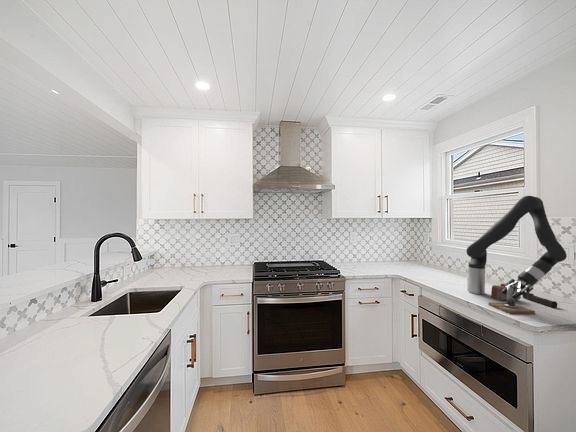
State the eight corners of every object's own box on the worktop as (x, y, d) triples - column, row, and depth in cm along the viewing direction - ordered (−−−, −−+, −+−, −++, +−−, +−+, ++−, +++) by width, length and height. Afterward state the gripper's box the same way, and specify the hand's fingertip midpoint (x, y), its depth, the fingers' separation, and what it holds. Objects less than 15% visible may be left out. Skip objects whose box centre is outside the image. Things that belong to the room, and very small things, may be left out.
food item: (511, 297, 166) (511, 282, 166) (522, 301, 158) (522, 285, 158) (489, 297, 167) (489, 282, 167) (498, 301, 159) (499, 285, 159)
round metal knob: (501, 304, 148) (501, 285, 148) (511, 304, 148) (511, 285, 148) (510, 308, 142) (510, 288, 142) (520, 308, 142) (520, 288, 142)
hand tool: (558, 308, 147) (558, 300, 148) (551, 308, 147) (551, 300, 147) (526, 298, 166) (526, 291, 166) (520, 298, 166) (520, 290, 166)
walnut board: (488, 305, 152) (488, 302, 152) (511, 305, 152) (511, 302, 152) (509, 314, 138) (509, 311, 138) (534, 314, 138) (534, 311, 138)
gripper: (516, 268, 151) (494, 287, 152) (535, 273, 137) (511, 294, 138) (526, 278, 150) (504, 296, 152) (547, 284, 136) (522, 304, 138)
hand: (508, 295), depth 145 cm, fingers open, 8 cm apart
